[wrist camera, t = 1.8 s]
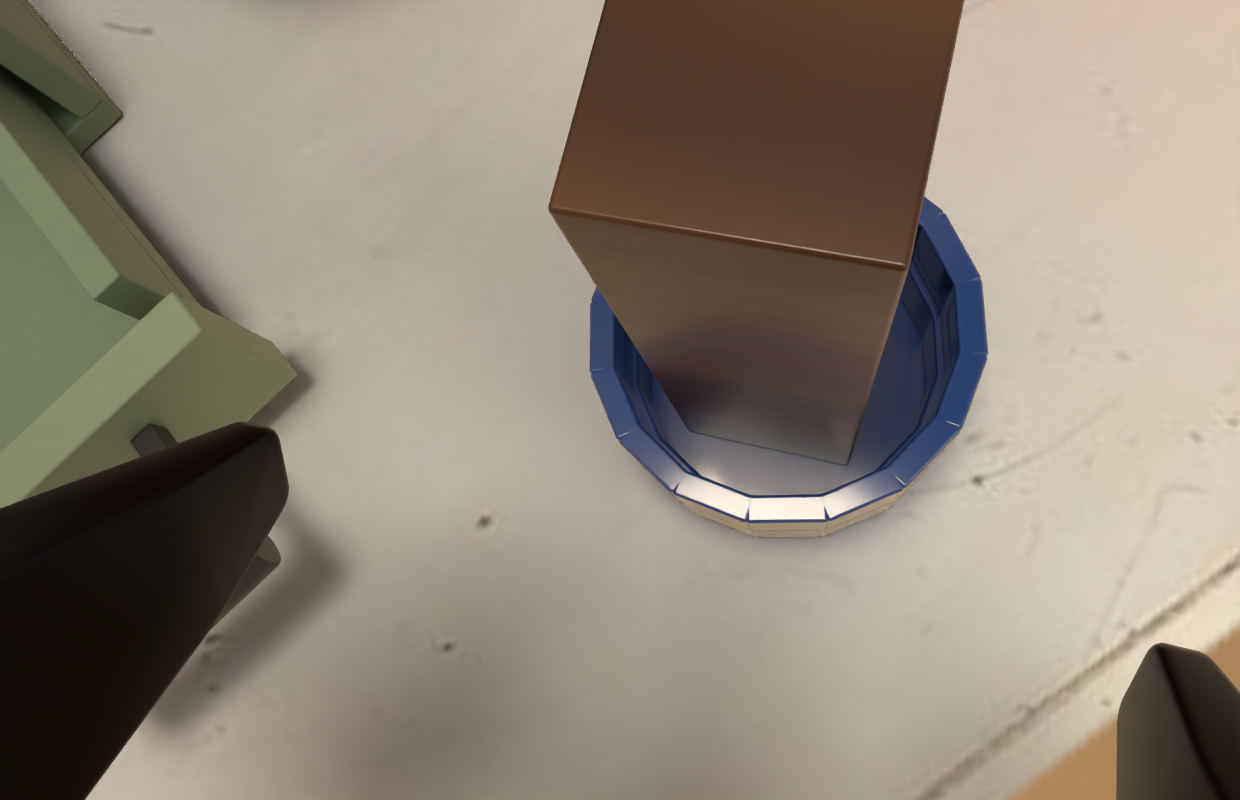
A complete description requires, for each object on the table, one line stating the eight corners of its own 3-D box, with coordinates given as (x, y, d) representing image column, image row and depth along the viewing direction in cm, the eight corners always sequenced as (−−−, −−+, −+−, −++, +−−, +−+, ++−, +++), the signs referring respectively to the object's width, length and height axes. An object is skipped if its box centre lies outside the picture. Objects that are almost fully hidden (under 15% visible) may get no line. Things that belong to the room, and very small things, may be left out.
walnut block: (848, 465, 20) (908, 270, 8) (687, 431, 21) (544, 210, 9) (880, 310, 21) (978, -71, 9) (723, 282, 21) (631, -100, 10)
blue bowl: (886, 591, 20) (905, 586, 16) (579, 468, 22) (531, 438, 18) (997, 282, 21) (1041, 209, 17) (694, 190, 23) (672, 104, 19)
